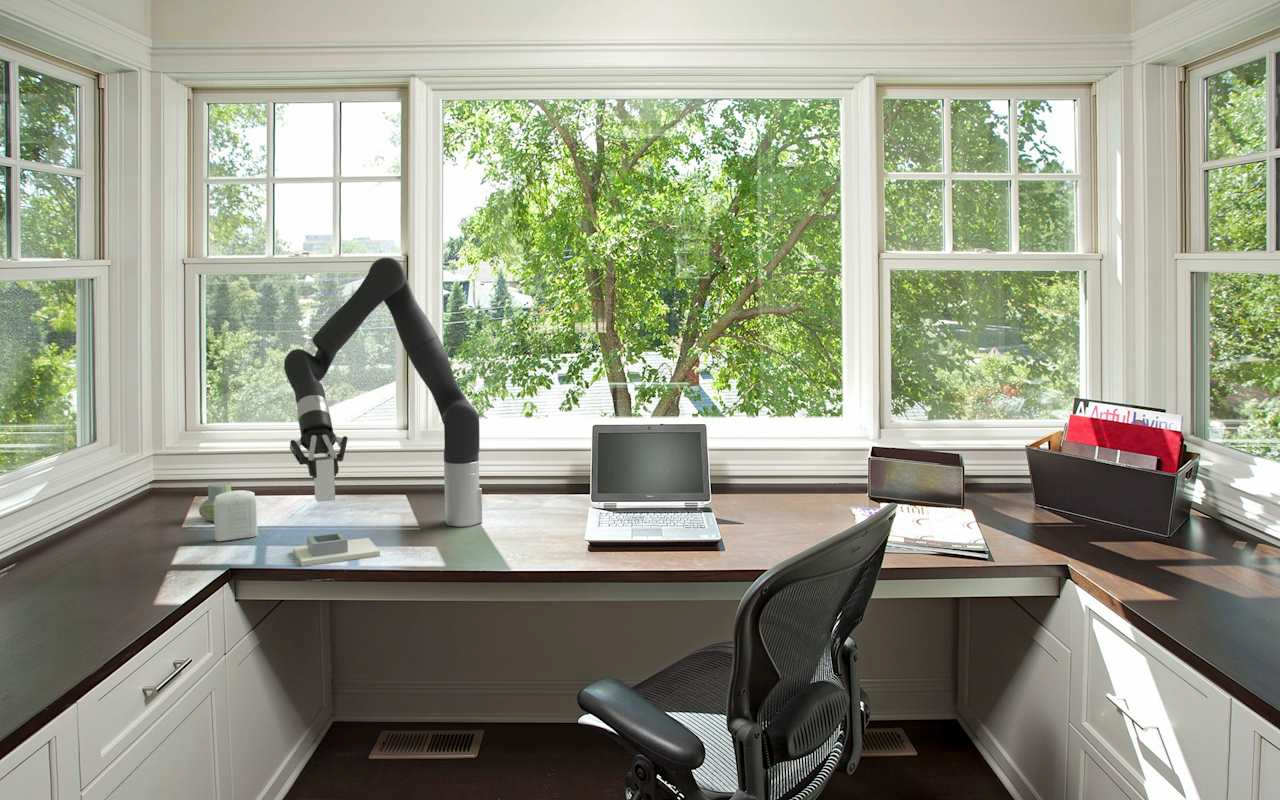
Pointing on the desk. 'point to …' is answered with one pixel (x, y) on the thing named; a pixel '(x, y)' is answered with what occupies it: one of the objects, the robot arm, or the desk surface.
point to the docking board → (333, 549)
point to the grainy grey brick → (324, 479)
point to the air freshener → (208, 506)
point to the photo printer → (235, 515)
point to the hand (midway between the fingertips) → (324, 475)
